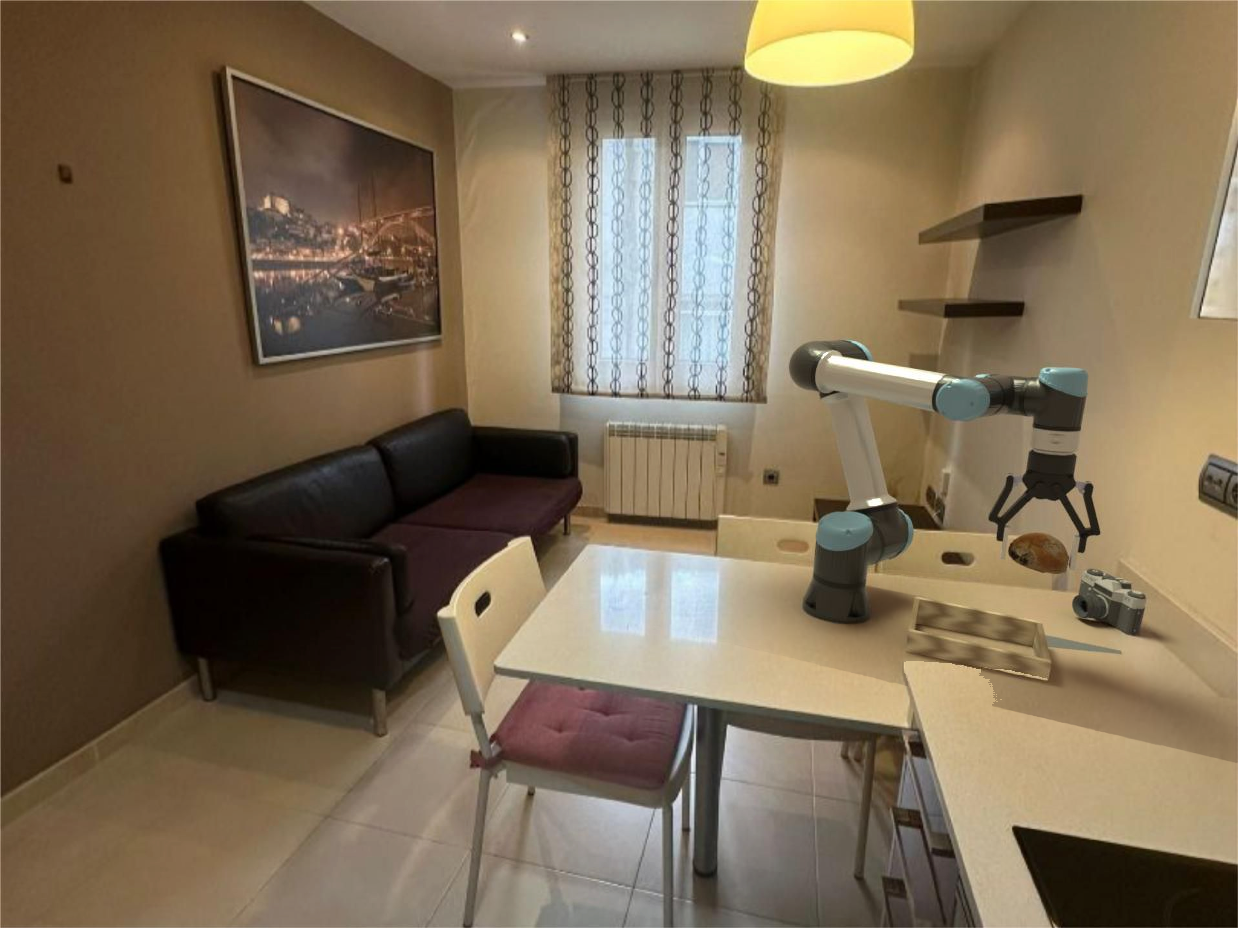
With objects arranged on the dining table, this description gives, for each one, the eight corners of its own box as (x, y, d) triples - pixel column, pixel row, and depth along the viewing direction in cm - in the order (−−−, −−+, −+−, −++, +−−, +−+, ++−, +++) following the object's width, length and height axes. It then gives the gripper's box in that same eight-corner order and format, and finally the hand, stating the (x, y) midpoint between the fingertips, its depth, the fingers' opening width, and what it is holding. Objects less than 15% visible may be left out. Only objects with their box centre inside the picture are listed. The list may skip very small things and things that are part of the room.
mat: (1046, 667, 126) (1047, 664, 126) (1040, 636, 138) (1040, 634, 138) (1135, 687, 120) (1136, 684, 119) (1120, 653, 132) (1120, 650, 131)
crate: (904, 657, 129) (908, 630, 127) (911, 620, 144) (915, 596, 143) (1046, 692, 118) (1051, 662, 116) (1037, 647, 133) (1042, 621, 132)
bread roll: (1056, 595, 121) (1090, 565, 118) (1011, 563, 121) (1043, 532, 118) (1037, 572, 130) (1068, 544, 127) (995, 543, 130) (1025, 514, 128)
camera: (1050, 603, 154) (1058, 564, 152) (1091, 603, 154) (1099, 564, 152) (1100, 635, 139) (1109, 593, 136) (1145, 635, 139) (1155, 593, 137)
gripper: (981, 448, 122) (968, 557, 127) (1134, 461, 111) (1112, 580, 115) (982, 442, 128) (969, 546, 133) (1127, 453, 117) (1107, 567, 122)
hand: (1036, 562), depth 124 cm, fingers closed on bread roll, 11 cm apart
